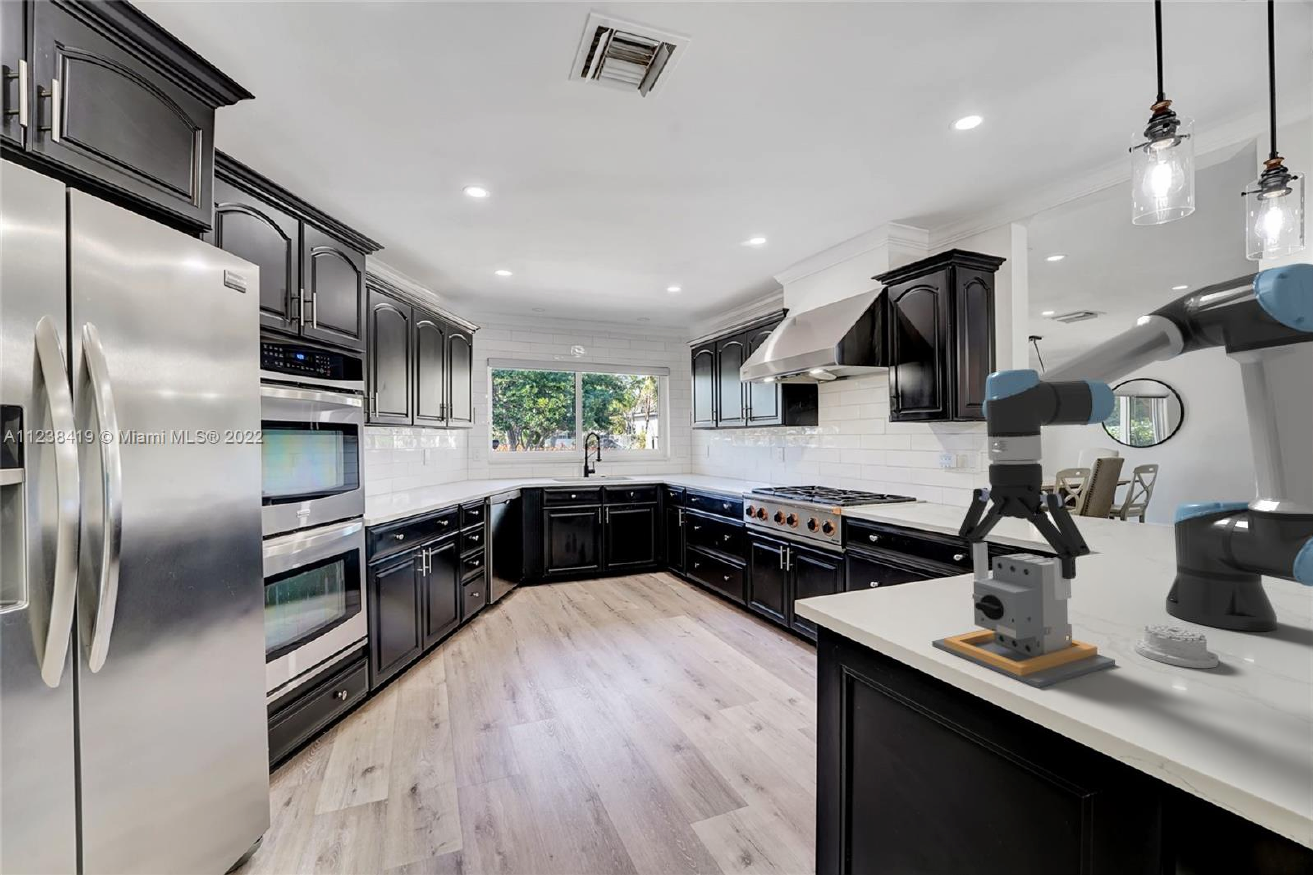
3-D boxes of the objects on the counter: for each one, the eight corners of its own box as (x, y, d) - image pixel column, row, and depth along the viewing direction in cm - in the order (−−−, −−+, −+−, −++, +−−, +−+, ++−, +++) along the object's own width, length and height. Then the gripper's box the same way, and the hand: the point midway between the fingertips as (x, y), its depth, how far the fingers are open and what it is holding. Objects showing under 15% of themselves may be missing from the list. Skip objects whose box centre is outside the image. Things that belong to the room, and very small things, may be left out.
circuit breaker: (967, 648, 92) (965, 560, 92) (1028, 636, 96) (1026, 553, 96) (1008, 665, 85) (1006, 569, 85) (1072, 652, 89) (1070, 561, 89)
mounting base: (1004, 629, 103) (1004, 618, 103) (1115, 664, 86) (1114, 652, 86) (932, 645, 95) (932, 634, 95) (1038, 688, 79) (1038, 674, 79)
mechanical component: (1160, 668, 85) (1236, 672, 83) (1160, 640, 85) (1235, 643, 83) (1120, 644, 95) (1187, 647, 93) (1119, 619, 95) (1186, 622, 93)
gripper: (934, 461, 101) (939, 575, 101) (1083, 465, 78) (1089, 612, 78) (962, 459, 104) (967, 569, 104) (1114, 462, 81) (1120, 604, 81)
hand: (1019, 588), depth 91 cm, fingers open, 13 cm apart
